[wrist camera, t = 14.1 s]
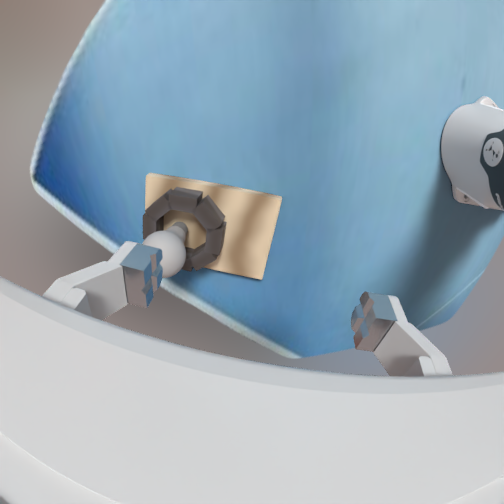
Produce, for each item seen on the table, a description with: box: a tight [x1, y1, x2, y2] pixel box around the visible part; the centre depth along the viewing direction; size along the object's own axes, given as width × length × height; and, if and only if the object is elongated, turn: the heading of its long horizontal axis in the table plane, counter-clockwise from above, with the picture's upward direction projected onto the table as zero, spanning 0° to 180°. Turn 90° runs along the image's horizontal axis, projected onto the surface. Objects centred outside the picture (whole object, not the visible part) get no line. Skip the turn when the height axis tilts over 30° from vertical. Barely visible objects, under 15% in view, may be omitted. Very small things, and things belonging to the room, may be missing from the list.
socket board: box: [143, 173, 282, 280], centre depth 41 cm, size 20×14×4 cm
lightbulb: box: [143, 222, 188, 278], centre depth 37 cm, size 6×6×11 cm
